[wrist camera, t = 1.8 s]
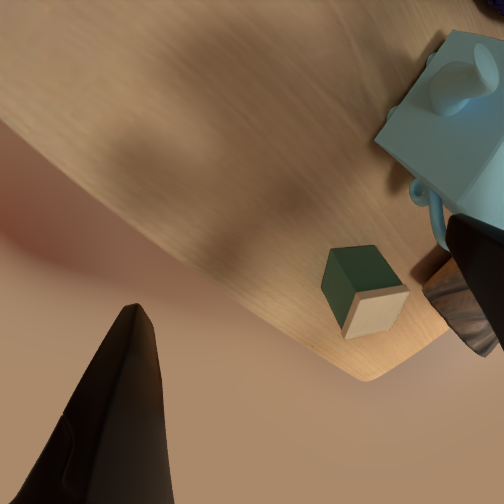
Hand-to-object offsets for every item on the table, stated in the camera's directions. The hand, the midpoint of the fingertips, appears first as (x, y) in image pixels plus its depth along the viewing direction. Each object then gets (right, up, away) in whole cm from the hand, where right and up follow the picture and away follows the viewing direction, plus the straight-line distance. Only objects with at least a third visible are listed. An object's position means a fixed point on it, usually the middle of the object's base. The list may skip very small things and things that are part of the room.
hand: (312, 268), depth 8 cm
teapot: (+12, +11, +11) cm, 20 cm away
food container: (+7, -1, +20) cm, 21 cm away
